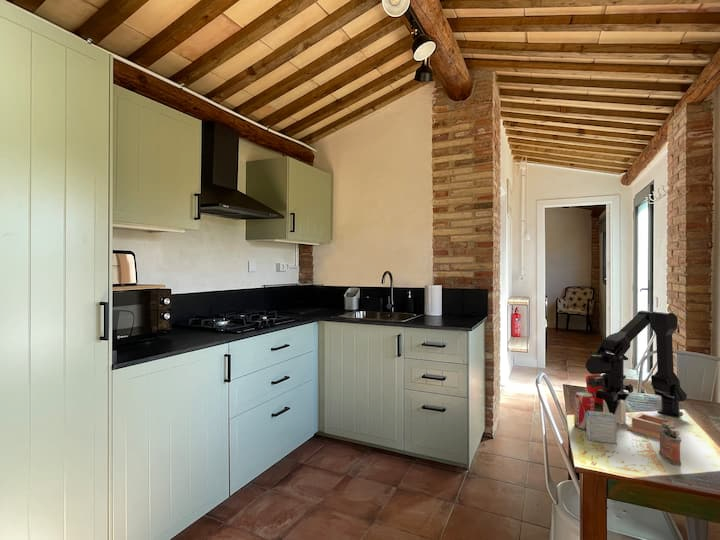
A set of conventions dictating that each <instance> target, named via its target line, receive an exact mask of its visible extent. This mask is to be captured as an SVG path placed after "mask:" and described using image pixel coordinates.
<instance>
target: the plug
mask: <svg viewBox="0 0 720 540" xmlns="http://www.w3.org/2000/svg"><path fill="white" fill-rule="evenodd" d="M626 406H627V399H626V400H622V399H620V402H619V404H618V407H617V409H616V412H615V414H614V416H615V417H616V419H617V420H616V424H617V423H619V424H618V425H621V424H622V423H623V424H625V423H626V422H627V414H626V413H627V412H626V411H627V409H626ZM602 409H603V410H602V412H606V413H609V410H608V407H607V404H606V402H605V400H603V405H602ZM625 421H626V422H625ZM624 422H625V423H624ZM623 424H622V425H623Z"/></svg>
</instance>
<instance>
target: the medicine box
mask: <svg viewBox="0 0 720 540" xmlns="http://www.w3.org/2000/svg"><path fill="white" fill-rule="evenodd" d="M616 420H617V419H616V417H615V416H614V415H613V413H606V412H603V411H595V410H594V411H587V430H586V436H587V438H588V440H589V441H592V442H601V443H609V444H617V443H618V441H617V423H616Z"/></svg>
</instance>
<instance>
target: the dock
mask: <svg viewBox="0 0 720 540" xmlns="http://www.w3.org/2000/svg"><path fill="white" fill-rule="evenodd" d="M663 422H665V423H667V424H668V425H669V426H673V427H674V429H675V430H677V434H676V435H677V436H678V435H679V434H680V430H679V429H677V428H675V420H671V419H667V418H663V417H661V416H660V417H658V416H657V415H656V416H655V415H651V414H647V413H643V412H639V413H637V414H636V415H635V416H632V417H631V423H630V424H628V425H627V430H628V429H629V430H628V431H631V430H632V432H634V433H635V432H636V433H639V434H641V435H646V436H648V437H652V438H657V439H659V440H660V433H659V429H665V428H664V427H662V423H663Z"/></svg>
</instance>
